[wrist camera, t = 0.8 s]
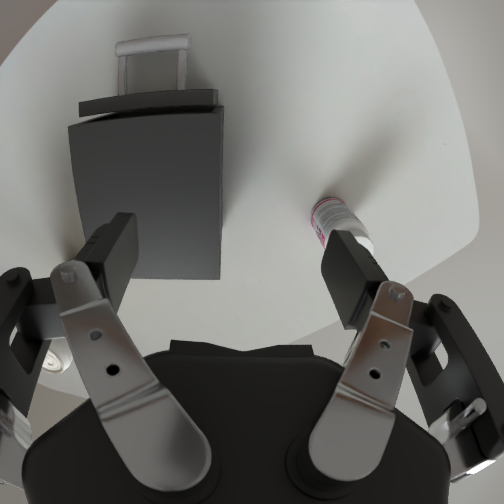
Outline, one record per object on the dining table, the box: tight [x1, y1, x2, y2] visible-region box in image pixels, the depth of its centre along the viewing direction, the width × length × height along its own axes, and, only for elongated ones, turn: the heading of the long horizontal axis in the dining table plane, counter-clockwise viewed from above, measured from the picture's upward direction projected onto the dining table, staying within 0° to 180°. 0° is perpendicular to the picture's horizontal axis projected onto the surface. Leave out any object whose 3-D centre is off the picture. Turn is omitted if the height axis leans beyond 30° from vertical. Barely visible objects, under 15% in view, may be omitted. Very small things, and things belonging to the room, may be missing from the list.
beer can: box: [41, 259, 74, 375], centre depth 29 cm, size 6×6×15 cm
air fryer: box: [68, 106, 224, 280], centre depth 25 cm, size 14×12×10 cm
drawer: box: [79, 34, 218, 117], centre depth 22 cm, size 17×10×8 cm, turn 177°
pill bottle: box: [311, 198, 374, 256], centre depth 30 cm, size 5×5×8 cm
